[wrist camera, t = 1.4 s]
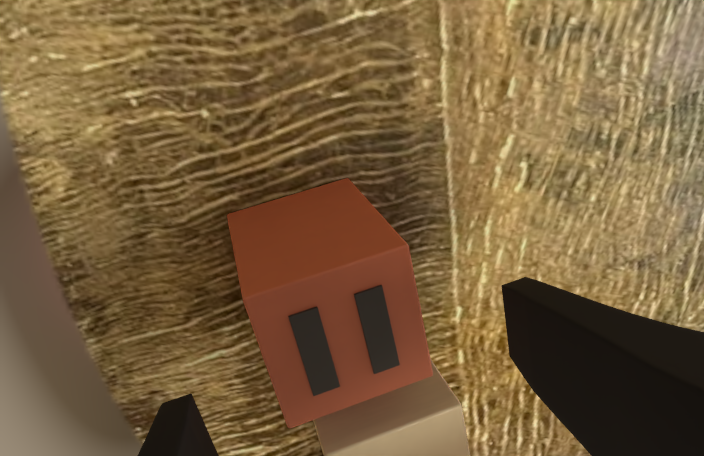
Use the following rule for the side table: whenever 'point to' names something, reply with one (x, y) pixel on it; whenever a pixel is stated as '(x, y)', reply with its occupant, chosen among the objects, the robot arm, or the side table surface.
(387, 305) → the red slotted block
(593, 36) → the side table surface
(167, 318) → the side table surface
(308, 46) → the side table surface
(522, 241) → the side table surface
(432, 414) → the tan rectangular block
